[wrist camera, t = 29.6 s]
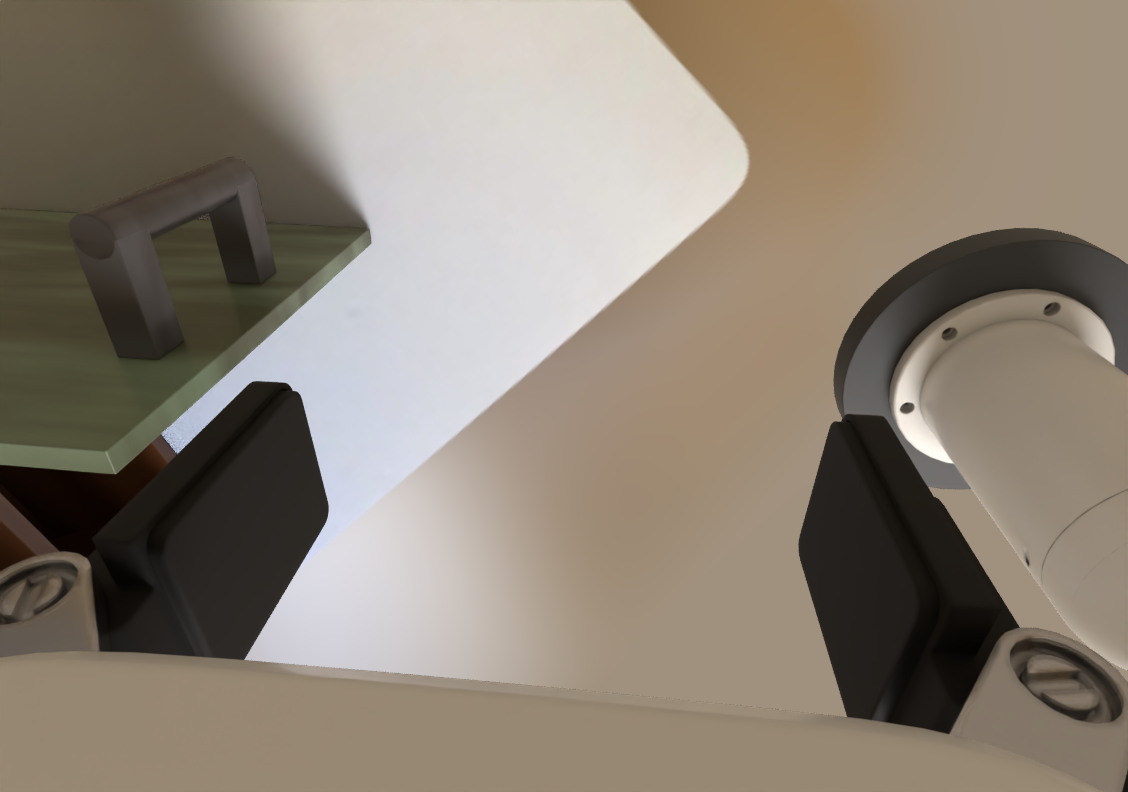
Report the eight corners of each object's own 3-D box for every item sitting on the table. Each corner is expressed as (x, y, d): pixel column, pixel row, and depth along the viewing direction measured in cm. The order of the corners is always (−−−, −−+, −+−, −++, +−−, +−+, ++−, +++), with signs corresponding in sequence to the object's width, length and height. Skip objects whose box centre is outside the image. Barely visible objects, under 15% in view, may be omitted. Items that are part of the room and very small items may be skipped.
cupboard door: (-54, 113, 39) (-790, 228, 19) (356, 131, 38) (28, 278, 17) (-4, 222, 43) (-577, 417, 23) (371, 243, 41) (116, 475, 21)
